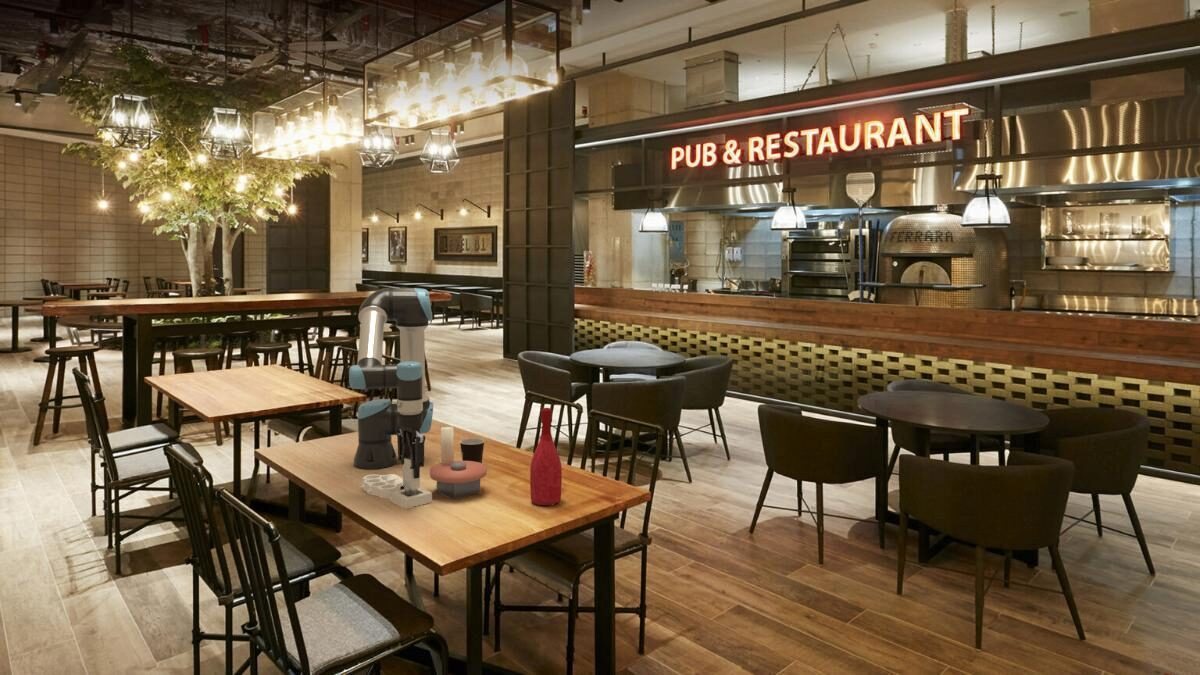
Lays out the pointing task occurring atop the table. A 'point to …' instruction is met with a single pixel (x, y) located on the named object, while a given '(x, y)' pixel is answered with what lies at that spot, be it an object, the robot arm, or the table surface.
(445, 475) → the handwheel
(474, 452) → the coffee mug
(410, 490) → the steel pin
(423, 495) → the eye block
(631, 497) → the table surface
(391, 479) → the knuckle duster
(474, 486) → the valve housing
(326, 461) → the table surface
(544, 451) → the wine bottle
